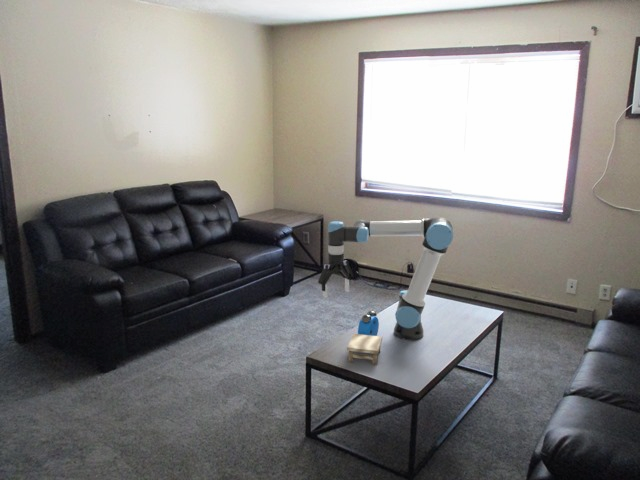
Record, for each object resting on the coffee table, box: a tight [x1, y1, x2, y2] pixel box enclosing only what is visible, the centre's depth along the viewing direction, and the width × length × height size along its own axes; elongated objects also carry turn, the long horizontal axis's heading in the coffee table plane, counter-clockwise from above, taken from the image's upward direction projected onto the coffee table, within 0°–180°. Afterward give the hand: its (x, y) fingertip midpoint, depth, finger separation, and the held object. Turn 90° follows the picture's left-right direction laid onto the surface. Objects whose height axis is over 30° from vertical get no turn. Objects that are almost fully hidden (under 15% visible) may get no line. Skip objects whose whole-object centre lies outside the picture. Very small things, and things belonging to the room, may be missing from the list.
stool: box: [346, 333, 383, 366], centre depth 251 cm, size 14×16×8 cm
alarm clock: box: [357, 310, 380, 336], centre depth 267 cm, size 13×6×15 cm, turn 151°
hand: (336, 294), depth 267 cm, fingers open, 13 cm apart
